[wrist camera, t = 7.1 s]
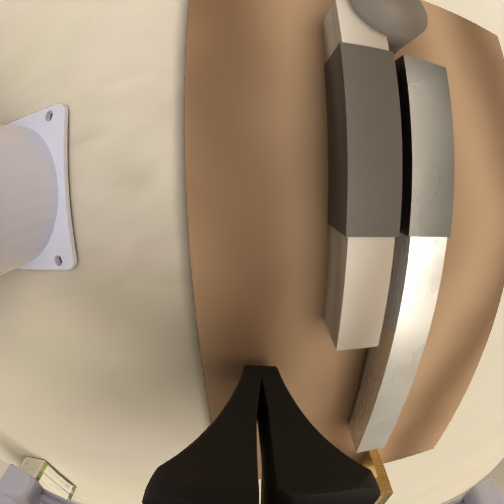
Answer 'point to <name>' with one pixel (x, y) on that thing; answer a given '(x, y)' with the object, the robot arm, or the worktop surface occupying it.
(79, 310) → the worktop surface
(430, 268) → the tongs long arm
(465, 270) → the tong board
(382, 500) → the wooden u-shaped block
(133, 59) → the worktop surface
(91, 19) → the worktop surface
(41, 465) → the syrup box
